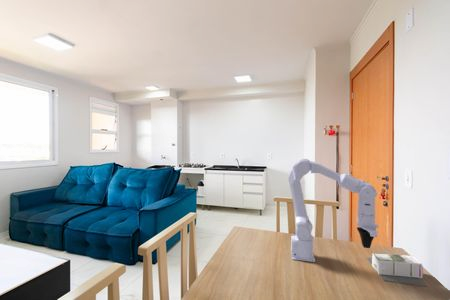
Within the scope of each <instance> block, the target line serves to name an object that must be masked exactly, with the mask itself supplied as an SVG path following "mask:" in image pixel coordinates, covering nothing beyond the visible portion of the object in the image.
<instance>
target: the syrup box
mask: <svg viewBox="0 0 450 300" xmlns="http://www.w3.org/2000/svg"><path fill="white" fill-rule="evenodd" d="M371 254H372V256H371V258H372V264H371V266H372V267H373V269H374V270H375V271H376V272H377V274H378V275H379V274H383V275H394V276H405V277H416V278H420V279H423V274H424V273H423V272H424V270H423V269H424V268H423V264H422V262H421V261H419V260H418V259H417V258H415V257H414V256H413V255H403V254H392V253H390V254H389V253H377V252H372V253H371Z"/></svg>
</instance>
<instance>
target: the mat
mask: <svg viewBox="0 0 450 300" xmlns="http://www.w3.org/2000/svg"><path fill="white" fill-rule="evenodd" d="M366 259H367V260H368V262H369V263H370V264H371V265H372V257H366ZM378 275H379V276H380V277H381V279H382V280H383V281H384V282H390V283H398V284H405V285H412V286H413V285H414V286H419V287H428V285H427V283H425V282H424V281H423V280H422V278H416V277H405V276H394V275H383V274H378Z"/></svg>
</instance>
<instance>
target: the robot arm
mask: <svg viewBox="0 0 450 300" xmlns="http://www.w3.org/2000/svg"><path fill="white" fill-rule="evenodd" d="M309 172H310V174H320V175H323V176H325V177H328V178H330V179H332V180H334V181H336V182H337V184H338V186H339V187H341V188H343V189H346V190H348V191H349V192H352V193H354V194H358V201H357V218H356V223H357V226H358V227H356V229H357V232H358V234H359V236H360V240H361V245H362V247H363V248H364V249H370V248H371V245H372V242H373V240H374V239H375V238H378V231H377V229H379V225H378V224H376V197H377V195H378V193H377V190H376V188H375V187H374V186H373V185H372V184H371V183H369V182H366V180H364V179H359V178H356V177H354V176H353V174H351V173H342V174H340V173H339V172H336V171H335V170H333V169H331V168H328V167H326V166H325V165H322V164H321V163H318V162H316V161H312V160H309V159H307V158H301V159H300V160H298V161H296V163H295V164H294V165H293V166H292V167H291V171H290V173H289V175H288V183H289V189H290V194H291V198H292V199H291V200H292V203H293V204H292V205H293V207H294V209H293V210H294V212H295V213H294V214H295V225H296V228H295V235H291V237H290V239H291V240H290V241H291V242H290V243H291V244H290V246H291V247H290V253H291V260H294V261H295V260H296V261H304V262H311V263H316V258H315V255H314V236H313V235H312V230H313V227H314V226H313V223H312V222H311V221H310V218H309V216H308V213H307V209H306V205H305V204H306V203H305V199H304V193H303V190H302V183H301V180H302V179H303V177H304V176H306V175H308V173H309Z"/></svg>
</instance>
